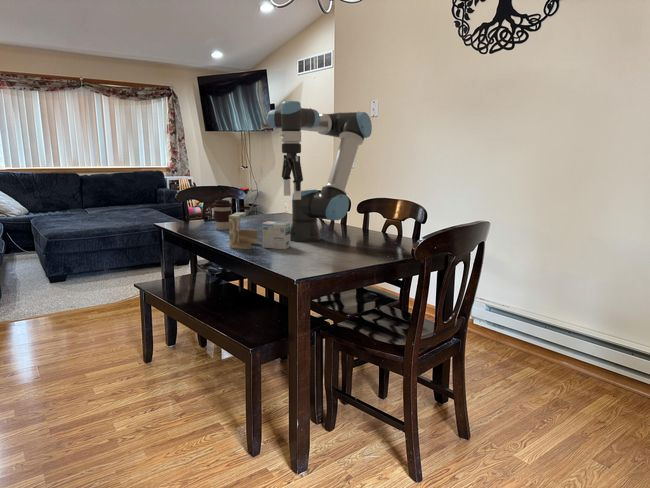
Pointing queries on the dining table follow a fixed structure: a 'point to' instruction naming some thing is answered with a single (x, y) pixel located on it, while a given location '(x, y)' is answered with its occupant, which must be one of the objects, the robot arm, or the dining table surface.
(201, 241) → the dining table surface
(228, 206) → the coffee cup
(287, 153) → the robot arm
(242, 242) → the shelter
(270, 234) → the light bulb box
